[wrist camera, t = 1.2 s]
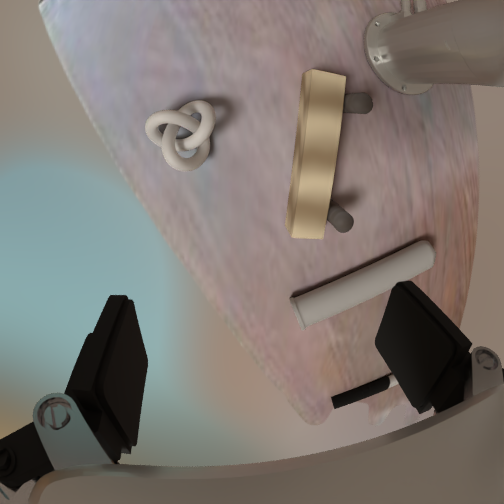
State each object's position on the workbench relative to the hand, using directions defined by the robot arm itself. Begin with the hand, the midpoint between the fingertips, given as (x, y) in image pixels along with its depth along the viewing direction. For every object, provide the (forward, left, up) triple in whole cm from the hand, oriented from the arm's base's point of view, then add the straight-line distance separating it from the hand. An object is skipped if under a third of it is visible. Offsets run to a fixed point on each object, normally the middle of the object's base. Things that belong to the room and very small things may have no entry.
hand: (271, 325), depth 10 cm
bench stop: (-3, +11, -28) cm, 30 cm away
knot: (-4, -6, -28) cm, 29 cm away
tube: (+14, +21, -28) cm, 38 cm away
